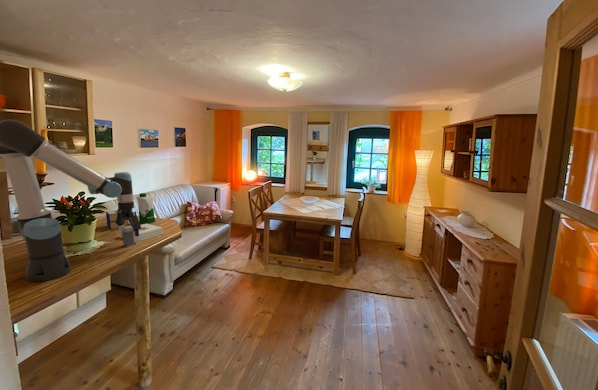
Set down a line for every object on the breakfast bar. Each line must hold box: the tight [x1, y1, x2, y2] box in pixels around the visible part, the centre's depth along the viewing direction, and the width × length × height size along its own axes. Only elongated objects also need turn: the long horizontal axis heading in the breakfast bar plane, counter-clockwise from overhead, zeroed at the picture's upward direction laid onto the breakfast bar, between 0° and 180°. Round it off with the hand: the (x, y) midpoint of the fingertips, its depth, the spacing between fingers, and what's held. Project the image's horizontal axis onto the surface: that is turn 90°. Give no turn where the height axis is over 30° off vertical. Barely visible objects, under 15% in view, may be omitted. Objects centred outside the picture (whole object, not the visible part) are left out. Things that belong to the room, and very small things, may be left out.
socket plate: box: [139, 223, 164, 242], centre depth 180 cm, size 16×16×5 cm
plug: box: [122, 225, 137, 247], centre depth 164 cm, size 4×4×10 cm
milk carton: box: [136, 192, 156, 225], centre depth 205 cm, size 9×9×20 cm
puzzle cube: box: [105, 209, 129, 230], centre depth 196 cm, size 10×10×10 cm
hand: (129, 239), depth 165 cm, fingers open, 13 cm apart
